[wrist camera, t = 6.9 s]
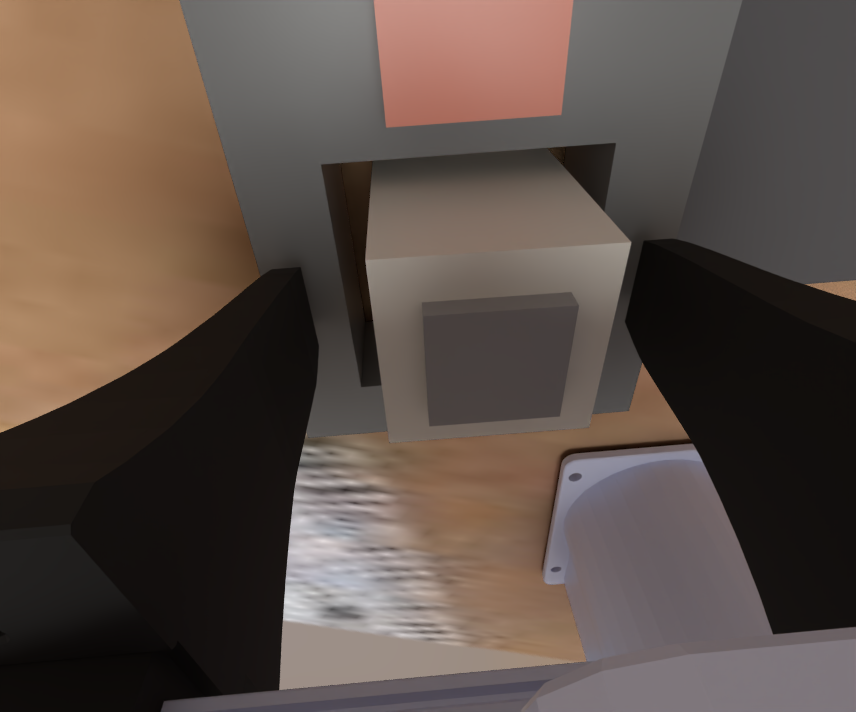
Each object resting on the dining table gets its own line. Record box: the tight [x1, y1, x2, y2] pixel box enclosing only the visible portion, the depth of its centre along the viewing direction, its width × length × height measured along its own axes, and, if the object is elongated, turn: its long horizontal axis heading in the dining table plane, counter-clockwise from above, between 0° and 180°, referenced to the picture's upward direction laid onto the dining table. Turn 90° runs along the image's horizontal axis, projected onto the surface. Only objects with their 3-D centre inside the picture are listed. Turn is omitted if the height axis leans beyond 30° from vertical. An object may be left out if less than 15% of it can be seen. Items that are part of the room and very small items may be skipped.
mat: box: [676, 0, 856, 284], centre depth 13 cm, size 8×8×1 cm
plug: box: [365, 148, 631, 443], centre depth 11 cm, size 4×4×6 cm
